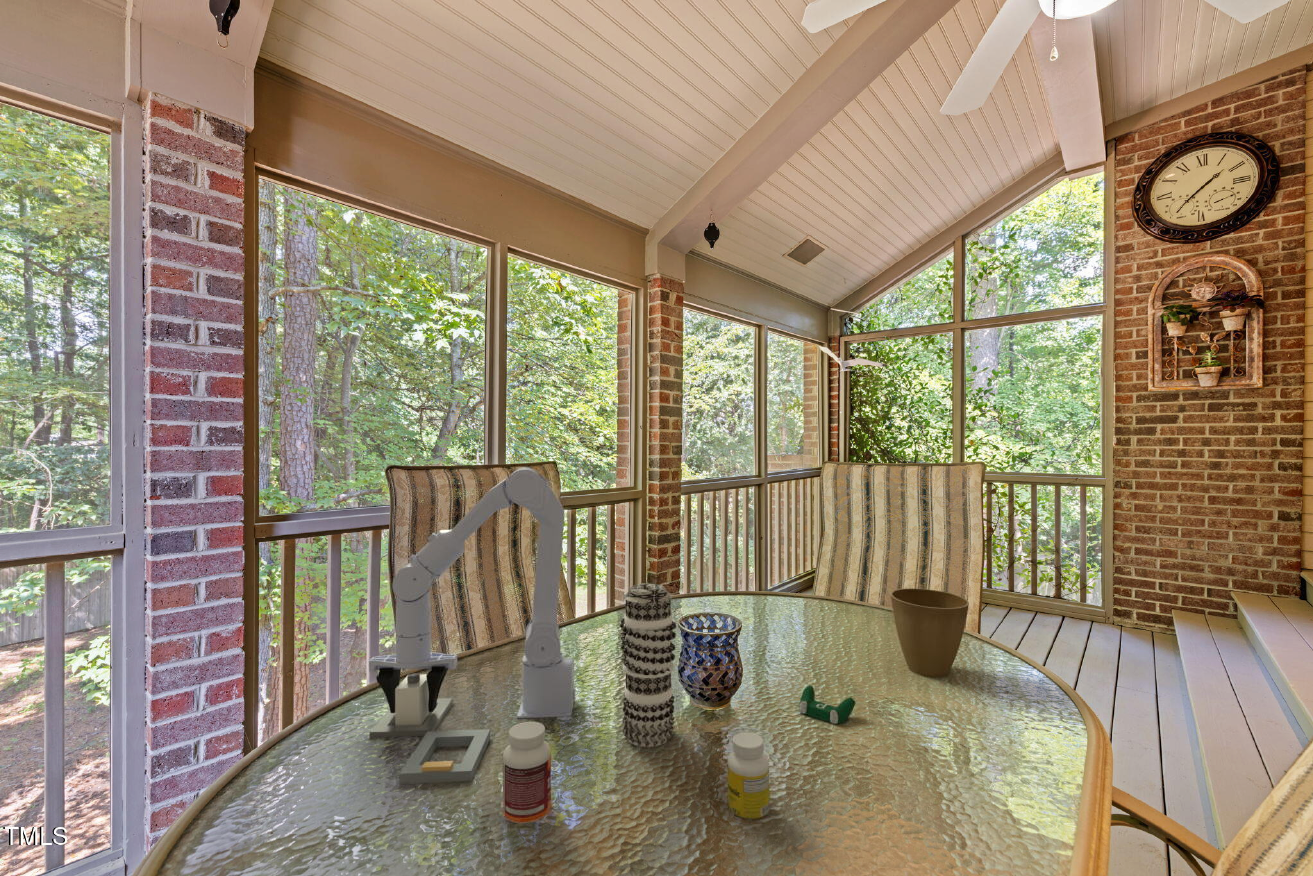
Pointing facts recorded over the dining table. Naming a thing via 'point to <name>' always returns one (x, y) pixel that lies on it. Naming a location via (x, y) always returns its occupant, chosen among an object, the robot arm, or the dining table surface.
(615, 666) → the dining table surface
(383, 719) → the square frame plate
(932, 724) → the dining table surface
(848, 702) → the gaming controller
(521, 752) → the pill bottle
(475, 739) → the port
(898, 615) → the plant pot
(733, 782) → the supplement bottle
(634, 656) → the decorative candle
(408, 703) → the plug
